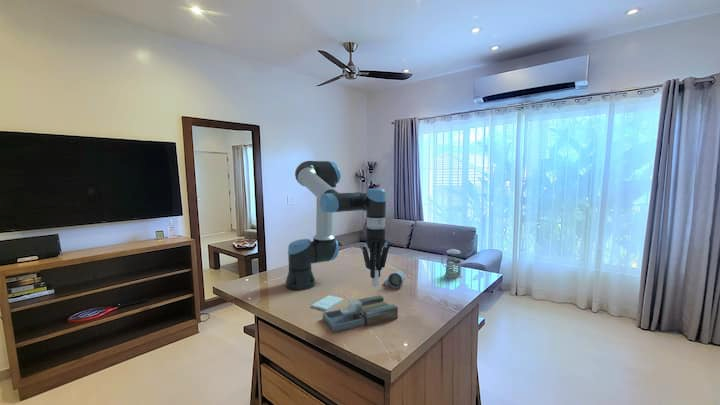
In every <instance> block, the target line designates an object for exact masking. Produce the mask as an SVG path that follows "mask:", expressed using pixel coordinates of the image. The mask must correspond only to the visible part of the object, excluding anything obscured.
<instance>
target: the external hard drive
mask: <svg viewBox="0 0 720 405" xmlns="http://www.w3.org/2000/svg"><path fill="white" fill-rule="evenodd" d="M342 302H344V298H342V297H338V296H335V295H329V294H328V295H327V296H325V297H324V298H322V299H320V300H318V301H317V302H315V303H314V302H313V304H311V305H310V307H311V308H314V309H317V310H321V311H324V312H328V311H330V309H332V308H333V307H335V306H337V305H338V304H340V303H342Z"/></svg>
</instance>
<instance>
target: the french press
mask: <svg viewBox="0 0 720 405" xmlns="http://www.w3.org/2000/svg"><path fill="white" fill-rule="evenodd" d="M451 234H452V235H456V232H455V231H454V232H452V233H451ZM446 253H447V254H446ZM446 253H445V254H443V255H442V257H441V260H440V261H441V265H444V263H443V261H444V257H447V258H446V259H447V260H446V264H445V265H444V268H445V273H444V276H445V277H447V278H451V279H462V278H463V275H462V273H461V272H462V271H461V270H462V269H461V268H462V267H461V266H462V263H461V261H460V260H461V259H460V257H459V258H458V257H455V255H460V254H461V253H462V251H460V250H458V249H456V248H450V249H447V250H446ZM448 254H450V255H453V256H449V257H448Z"/></svg>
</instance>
